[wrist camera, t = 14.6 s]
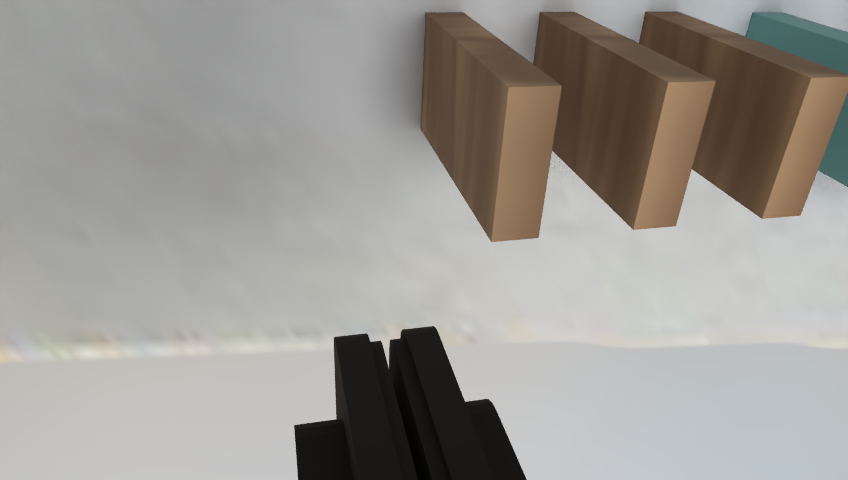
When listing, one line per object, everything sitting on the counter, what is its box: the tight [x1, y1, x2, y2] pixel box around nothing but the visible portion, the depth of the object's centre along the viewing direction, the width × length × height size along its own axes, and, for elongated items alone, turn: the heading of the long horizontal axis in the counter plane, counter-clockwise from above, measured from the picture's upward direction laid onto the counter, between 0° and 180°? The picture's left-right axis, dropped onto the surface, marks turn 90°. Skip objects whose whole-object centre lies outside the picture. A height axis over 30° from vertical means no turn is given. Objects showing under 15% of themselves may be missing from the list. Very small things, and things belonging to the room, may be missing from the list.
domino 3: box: [639, 12, 848, 219], centre depth 26 cm, size 2×5×10 cm, turn 177°
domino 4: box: [746, 13, 848, 187], centre depth 27 cm, size 2×5×10 cm, turn 178°
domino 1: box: [421, 13, 562, 242], centre depth 24 cm, size 2×5×10 cm, turn 178°
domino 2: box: [533, 12, 716, 230], centre depth 25 cm, size 2×5×10 cm, turn 178°
